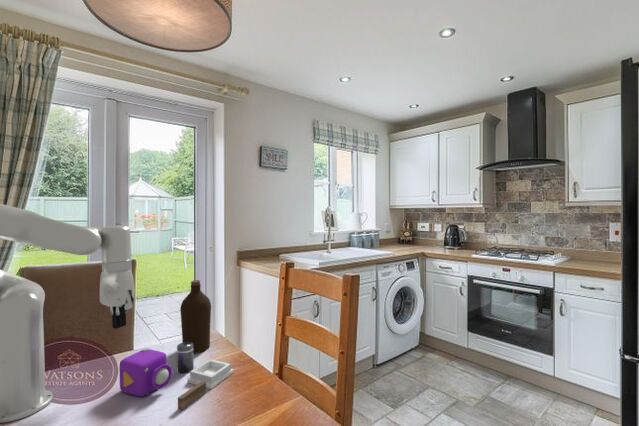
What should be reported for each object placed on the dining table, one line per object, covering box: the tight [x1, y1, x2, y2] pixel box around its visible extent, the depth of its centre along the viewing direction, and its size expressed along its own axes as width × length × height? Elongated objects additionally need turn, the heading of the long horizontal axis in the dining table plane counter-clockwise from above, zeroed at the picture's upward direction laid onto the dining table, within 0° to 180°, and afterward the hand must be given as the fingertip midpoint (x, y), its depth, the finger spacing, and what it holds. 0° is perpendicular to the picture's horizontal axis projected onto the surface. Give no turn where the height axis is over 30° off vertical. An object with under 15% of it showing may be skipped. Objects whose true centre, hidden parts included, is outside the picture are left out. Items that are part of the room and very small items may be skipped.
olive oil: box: [180, 279, 212, 354], centre depth 118 cm, size 11×11×25 cm
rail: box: [177, 381, 207, 411], centre depth 86 cm, size 2×8×3 cm, turn 157°
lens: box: [176, 342, 195, 374], centre depth 103 cm, size 5×5×8 cm
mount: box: [187, 358, 234, 390], centre depth 98 cm, size 9×10×3 cm
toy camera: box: [118, 347, 173, 398], centre depth 92 cm, size 11×14×10 cm
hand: (119, 326), depth 97 cm, fingers closed
